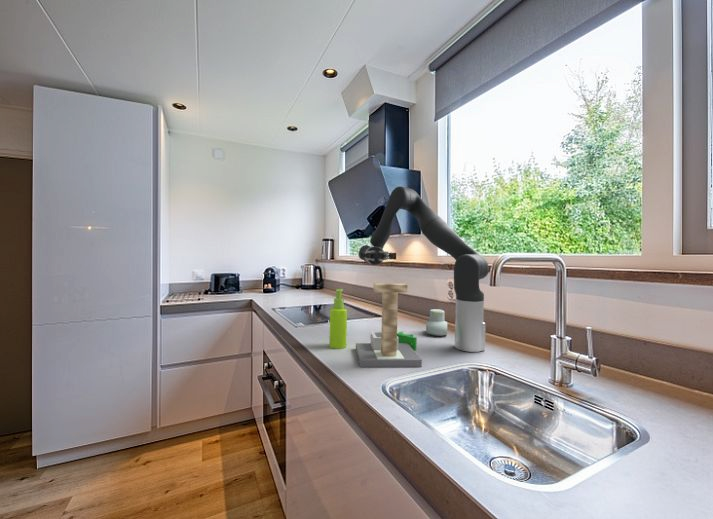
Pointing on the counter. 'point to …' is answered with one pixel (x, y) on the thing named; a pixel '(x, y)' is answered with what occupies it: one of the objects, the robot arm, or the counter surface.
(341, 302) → the soap dispenser
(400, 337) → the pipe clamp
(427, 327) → the air freshener
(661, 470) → the counter surface
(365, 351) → the grey base plate
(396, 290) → the T-key
